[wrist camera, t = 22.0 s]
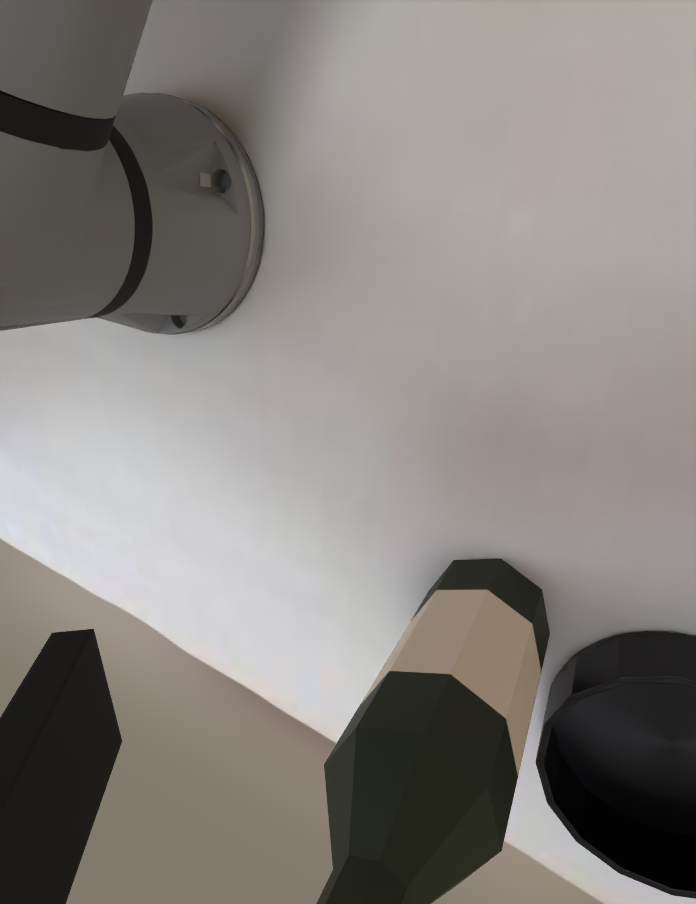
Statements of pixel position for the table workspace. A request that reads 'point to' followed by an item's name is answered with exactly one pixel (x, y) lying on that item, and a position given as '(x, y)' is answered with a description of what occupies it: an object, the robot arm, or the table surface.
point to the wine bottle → (437, 741)
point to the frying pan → (627, 755)
